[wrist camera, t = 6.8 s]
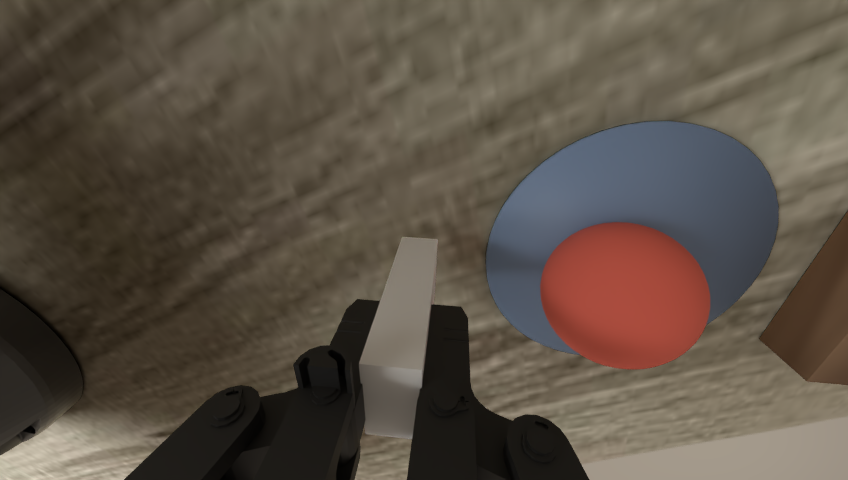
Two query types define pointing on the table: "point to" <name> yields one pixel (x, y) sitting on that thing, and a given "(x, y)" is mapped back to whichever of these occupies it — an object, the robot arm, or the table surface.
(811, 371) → the block
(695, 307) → the ball
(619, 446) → the table surface
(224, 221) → the table surface
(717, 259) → the blue disc
